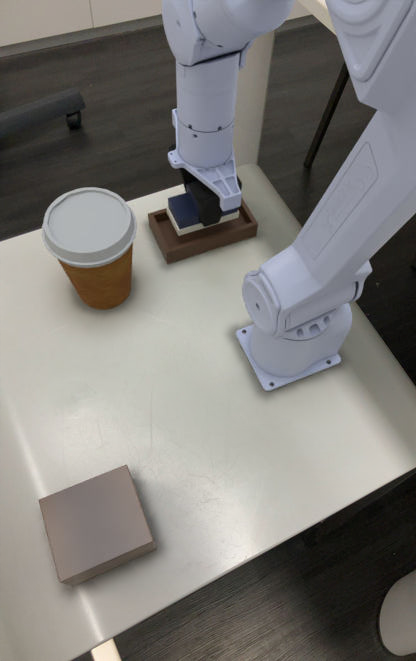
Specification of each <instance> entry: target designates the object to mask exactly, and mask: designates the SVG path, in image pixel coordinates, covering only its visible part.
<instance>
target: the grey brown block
mask: <svg viewBox="0 0 416 661" xmlns="http://www.w3.org/2000/svg"><path fill="white" fill-rule="evenodd" d="M38 504H39V508H40V512H41V516H42V520H43V523H44V527H45V531H46V532H45V533H46V535H47V539H48V543H49V547H50V552H51V554H52V559H53V562H54V563H53V564H54V566H55V570H56V574H57V578H58V582H59V584H63V585H67V586H70V587H74V586H77V585H79V584H81V583H83V582H86V581H87V580H90V579H92V578H95V577H97V576H99V575H101V574H104V573H106V572H108V571H110V570H112V569H115V568H118V567H119V566H122V565H124V564H126V563H128V562H131V561H133V560H135V559H138V558H140V557H142V556H145V555H146V554H148V553H150V552H153V551H155V550H157V545H156V542H155V539H154V536H153V533H152V529H151V527H150V524H149V521H148V519H147V516H146V513H145V511H144V508H143V504H142V501H141V498H140V496H139V493H138V490H137V488H136V485H135V482H134V479H133V476H132V474H131V471H130V469H129V466H128V464H124V465H121V466H119V467H116V468H114V469H111V470H109V471H106V472H104V473H101V474H99V475H97V476H94V477H92V478H89V479H87V480H84V481H82V482H79V483H76V484H74V485H72V486H69V487H65V488H64V489H62V490H59V491H56V492H54V493H51V494H49V495H47V496H44V497H42V498H40V499H38Z"/></svg>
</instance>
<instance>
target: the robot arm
mask: <svg viewBox="0 0 416 661" xmlns="http://www.w3.org/2000/svg"><path fill="white" fill-rule="evenodd" d="M324 2H325V5H326V9H327V11H328V14H329V17H330V20H331V23H332V26H333V29H334V32H335V35H336V39H337V41H338V44H339V47H340V50H341V54H342V56H343V60H344V62H345V65H346V68H347V71H348V74H349V77H350V80H351V83H352V86H353V88H354V92H355V95H356V98H357V100H358V101H359V102H360V103H361V104H363V105H366V106H369V107H370V108H373V109H375V110H376V111H375V113H374V115H373V116H372V118H371V119H370V121H369V122H368V124H367V126H366V127H365V129H364V130H363V132H362V133H361V135H360V137H359V138H358V140H357V141H356V143H355V144H354V146H353V147H352V150H350V152H349V154H348V155H347V157H346V159H345V161H343V163H342V165H341V167H340V168H339V170H338V171H337V173H336V175H335V176H334V178H333V179H332V181H331V182H330V184H329V185H328V187H327V189H326V190H325V192H324V193H323V195H322V197H321V198H320V200H319V201H318V203H317V204H316V206H315V208H314V209H313V210H312V212H311V214H310V216H309V217H308V219H307V220H306V222H305V223H304V225H303V226H302V227H301V230H300V231H299V233H298V234H297V235H296V238H295V239H294V241H293V242H292V243H291V244H290V245H289V246H287V247H286V248H284V249H283V250H282V251H280V252H278V253H277V254H275V255H274V256H272V257H270V258H269V259H268V260H267V261H265V262H263V263H262V264H260V266H259V268H258V269H254V270H250V271H247V272H246V274H244V277H243V281H242V284H241V285H242V286H241V294H242V300H243V302H244V306H245V310H246V311H247V314H248V315H249V317H250V319H251V321H252V322H253V324H251V325H247V326H245V327H242V328H239V329H237V330H236V331H235V336H236V339H237V341H238V343H239V345H240V346H241V349H242V350H243V352H244V354H245V356H246V359H247V361H248V362H249V365H250V366H251V368H252V370H253V372H254V374H255V377H256V378H257V379H258V381H259V384H260V385H261V387H262V389H263V390H264V391H265V392H271V391H274V390H276V389H279V388H281V387H284V386H286V385H288V384H291V383H294V382H296V381H298V380H301V379H304V378H306V377H309V376H311V375H314V374H316V373H320V372H322V371H324V370H327V369H330V368H333V367H335V366H336V365H339V364H340V363H341V362H342V358H341V356H340V354H339V351H340V350H341V347H342V346H343V344H344V342H345V341H346V338H347V337H348V335H349V333H350V331H351V329H352V327H353V313H352V308H351V305H350V303H354V302H356V301H357V300H359V299H360V297H361V296H362V293H363V289H364V285H365V284H364V283H365V281H366V280H367V278H368V276H370V275H371V273H372V272H373V268H372V266H371V263H370V260H371V258H372V257H373V256H374V255H375V254H376V253H377V252H378V251H379V250H380V249H381V248H382V247H383V246H385V244H386V243H387V242H388V241H389V240H391V238H392V237H393V236H394V235H396V233H398V231H399V230H401V228H403V226H404V225H405V224H407V222H408V221H409V220H411V218H412V217H413V216H415V214H416V0H324ZM295 3H296V0H162V1H161V16H162V23H163V30H164V34H165V37H166V40H167V44H168V46H169V49H170V51H171V52H172V55H173V57H174V58H175V81H176V82H175V83H176V84H175V85H176V86H175V87H176V108H173V109H172V110H171V120H172V126H173V128H174V129H175V143H172V144H171V145H170V146H169V147H168V152H167V161H168V162H169V164H170V167H172V168H173V169H175V170H176V169H177V170H178V171H179V173H180V177H181V181H182V184H183V188H184V191H185V193H187V184H188V183H191V184H188V187H189V189H190V191H191V193H192V195H193V196H194V198H195V200H196V201H197V204H198V209H199V216H200V220H201V222H202V224H203V226H204V227H207V226H210V225H213V224H217V223H219V221H220V219H221V217H222V215H223V212H224V211H227V210H231V209H234V208H236V207H240V205H241V197H242V196H243V192H242V188H243V182H242V181H241V179H240V177H239V176H238V173H237V168H236V159H235V158H236V157H235V150H234V145H233V142H234V130H235V119H236V118H235V117H236V106H237V96H238V83H239V82H238V81H239V74H240V73H239V71H242V69H243V68H244V67H245V66H246V61H247V54H248V51H249V50H250V49H251V48H252V46H253V45H254V43H255V40H256V39H258V38H260V37H262V36H264V35H266V34H268V33H271V32H272V31H274V30H276V29H278V28H279V27H281V26H282V25H283V24H284V23H285V22H286V21H287V19H288V18H289V17H290V14H291V13H292V11H293V8H294V6H295ZM199 180H200V181H199ZM195 181H198V182H195ZM192 182H194V183H192ZM242 198H243V197H242ZM244 332H245V333H244ZM328 362H329V363H328ZM271 384H272V385H271Z"/></svg>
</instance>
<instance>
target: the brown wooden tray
mask: <svg viewBox="0 0 416 661" xmlns="http://www.w3.org/2000/svg"><path fill="white" fill-rule="evenodd" d="M238 211H239V217H238V218H235V219H232V220H229V221H226V222H222V223H219V224H216V225H213V226H209V227H206V228H203V229H200V230H196V231H193V232H190V233H187V234H183V235H180V236H178V234H177V232H176V230H175V228H174V226H173V224H172V222H171V220H170V218H169V216H168V214H167V207H165V208H162V209H159V210H155V211H151V212H148V213H147V219H148V220H147V221H148V227H149V229H150V231H151V233H152V235H153V237H154V239H155V242H156V243H157V246H158V248H159V250H160V252H161V255H162V256H163V258H164V261H165V262H166V265H170V264H173V263H176V262H179V261H182V260H186V259H189V258H192V257H195V256H199V255H201V254H205V253H208V252H211V251H213V250H217V249H220V248H223V247H226V246H231V245H233V244H236V243H239V242H242V241H245V240H248V239H251V238H254V237H257V236H258V234H257V233H258V227H259V223H258V221H257V220H256V218H255V216H254V214H253V213H252V211H251V210H250V208H249V206H248V205H247V203H246V202H245V200H244V198H243V197H241V205H240V207H238Z"/></svg>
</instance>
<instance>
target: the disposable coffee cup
mask: <svg viewBox="0 0 416 661" xmlns="http://www.w3.org/2000/svg"><path fill="white" fill-rule="evenodd" d="M42 222H43V223H42V225H41V237H42V242H43V244H44V246H45V248H46V249H47V251H48V252H49V253H50V254H51V255H52V256H53V257H54V258H56V260H57V261H58V263H59V264H60V266H61V269H63V271H64V273H65V274H66V277H67V278H68V280H69V281H70V283H71V285H72V286H73V288H74V289H75V292H76V293H77V295H78V297H79V298H80V300H81V301H82V303H84V304H85V305H86V306H88V307H89V308H92V309H95V310H110V309H113V308H116V307H118V306H120V305H122V304H123V303H124V302H125V301H126V300H127V299H128V298H129V296H130V294H131V291H132V278H133V277H132V276H133V275H132V274H133V252H134V251H133V250H134V240H135V239H136V235H137V231H138V222H137V217H136V215H135V213H134V211H133V209H132V208H131V207H130V206H129V204H127V202H126V201H125V199H124V198H122V197H121V196H120V195H119V194H117V193H116V192H113V191H111V190H109V189H106V188H100V187H95V186H93V187H92V186H91V187H90V186H89V187H86V186H85V187H80V188H76V189H74V190H70V191H67V192H65V193H62V195H60V196H58V197H57V198H55V199H54V201H53V202H51V203H50V205H49V206H48V207H47V209H46V211H45V213H44V217H43V221H42Z"/></svg>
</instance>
